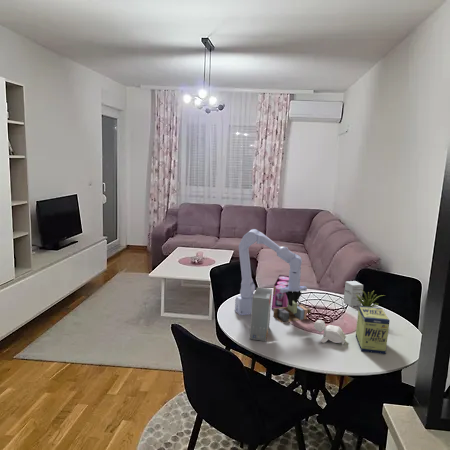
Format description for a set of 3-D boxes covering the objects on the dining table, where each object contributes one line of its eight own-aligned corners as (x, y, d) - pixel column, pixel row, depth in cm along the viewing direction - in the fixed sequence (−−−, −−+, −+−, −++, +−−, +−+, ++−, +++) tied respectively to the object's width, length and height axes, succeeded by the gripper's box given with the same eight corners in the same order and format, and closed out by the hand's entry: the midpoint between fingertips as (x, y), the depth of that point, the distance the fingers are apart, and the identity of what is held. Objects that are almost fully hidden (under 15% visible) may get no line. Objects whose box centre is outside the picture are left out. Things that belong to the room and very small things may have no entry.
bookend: (283, 321, 205) (284, 313, 204) (277, 317, 211) (278, 308, 210) (288, 321, 206) (289, 312, 205) (282, 316, 212) (283, 308, 211)
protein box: (361, 351, 179) (365, 318, 176) (354, 336, 194) (358, 305, 191) (386, 354, 178) (390, 320, 175) (377, 338, 193) (381, 307, 190)
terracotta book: (304, 319, 210) (304, 309, 209) (297, 314, 215) (298, 305, 214) (307, 318, 210) (307, 309, 210) (300, 314, 216) (301, 305, 215)
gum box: (285, 313, 218) (287, 288, 216) (270, 311, 220) (272, 286, 218) (290, 298, 241) (292, 276, 239) (277, 296, 243) (278, 274, 241)
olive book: (293, 313, 206) (294, 303, 205) (287, 308, 212) (288, 299, 211) (296, 313, 207) (297, 303, 206) (290, 308, 213) (291, 299, 212)
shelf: (281, 323, 204) (281, 313, 203) (273, 317, 212) (274, 307, 211) (310, 319, 211) (310, 309, 210) (301, 314, 218) (302, 303, 217)
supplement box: (342, 302, 239) (345, 281, 237) (353, 301, 242) (356, 280, 239) (350, 306, 232) (352, 285, 230) (361, 305, 235) (363, 284, 232)
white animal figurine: (340, 344, 191) (311, 327, 195) (349, 330, 189) (319, 313, 193) (338, 352, 183) (308, 334, 187) (347, 337, 181) (317, 319, 185)
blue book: (300, 319, 209) (301, 310, 208) (294, 315, 214) (294, 306, 213) (303, 319, 210) (304, 310, 209) (297, 314, 215) (297, 305, 214)
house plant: (378, 316, 220) (381, 287, 217) (385, 327, 206) (389, 296, 204) (351, 314, 221) (354, 285, 218) (356, 324, 208) (359, 293, 205)
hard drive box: (266, 342, 184) (269, 299, 180) (249, 339, 185) (251, 297, 182) (269, 327, 199) (272, 288, 195) (253, 325, 200) (256, 286, 197)
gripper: (286, 282, 200) (284, 309, 203) (311, 280, 206) (308, 306, 208) (278, 278, 207) (276, 304, 209) (303, 276, 212) (301, 301, 215)
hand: (292, 305), depth 209 cm, fingers closed on olive book, 2 cm apart
